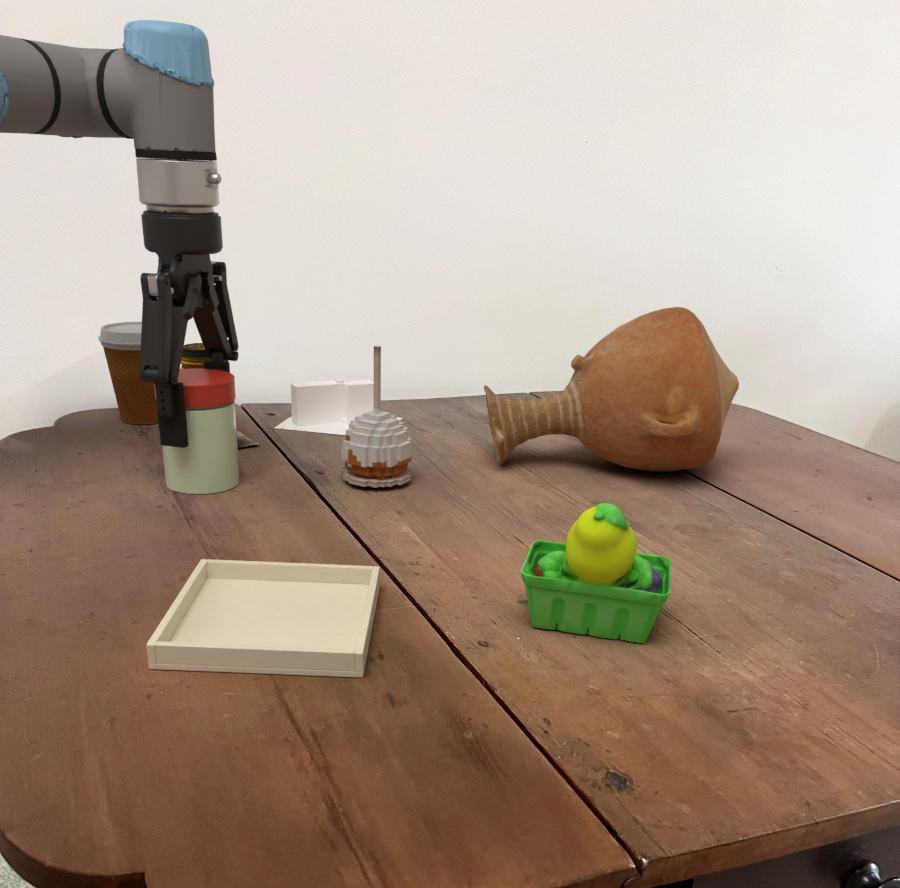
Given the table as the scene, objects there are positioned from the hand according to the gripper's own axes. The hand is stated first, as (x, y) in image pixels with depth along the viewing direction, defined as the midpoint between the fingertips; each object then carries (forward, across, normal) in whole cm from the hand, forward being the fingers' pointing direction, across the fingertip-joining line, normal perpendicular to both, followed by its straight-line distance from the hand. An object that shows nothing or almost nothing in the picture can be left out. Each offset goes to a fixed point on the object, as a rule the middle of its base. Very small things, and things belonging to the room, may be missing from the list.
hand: (198, 432), depth 99 cm
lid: (-6, 0, 0) cm, 6 cm away
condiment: (+6, +14, +5) cm, 16 cm away
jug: (+6, +22, -42) cm, 48 cm away
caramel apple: (+6, +7, -18) cm, 20 cm away
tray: (+6, -30, -20) cm, 36 cm away
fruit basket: (+6, -22, -44) cm, 50 cm away
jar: (+6, 0, 0) cm, 6 cm away
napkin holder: (+6, +29, -6) cm, 30 cm away
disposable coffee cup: (+6, +22, +19) cm, 29 cm away
